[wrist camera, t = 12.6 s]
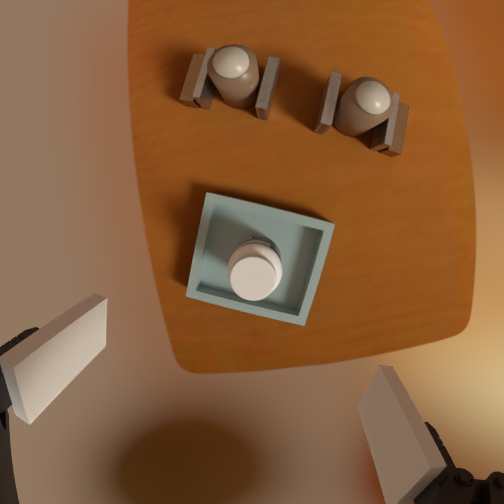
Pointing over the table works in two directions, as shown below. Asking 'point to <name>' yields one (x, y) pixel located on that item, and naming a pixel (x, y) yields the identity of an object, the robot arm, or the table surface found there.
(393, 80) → the table surface
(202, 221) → the tray
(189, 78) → the clip rail
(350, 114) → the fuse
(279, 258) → the pill bottle
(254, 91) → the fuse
